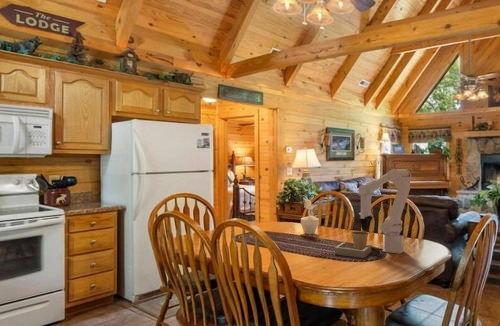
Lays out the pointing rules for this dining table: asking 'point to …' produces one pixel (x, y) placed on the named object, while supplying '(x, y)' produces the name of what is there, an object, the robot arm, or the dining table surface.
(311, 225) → the potted plant
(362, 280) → the dining table surface
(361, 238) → the flower pot
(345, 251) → the pot holder
